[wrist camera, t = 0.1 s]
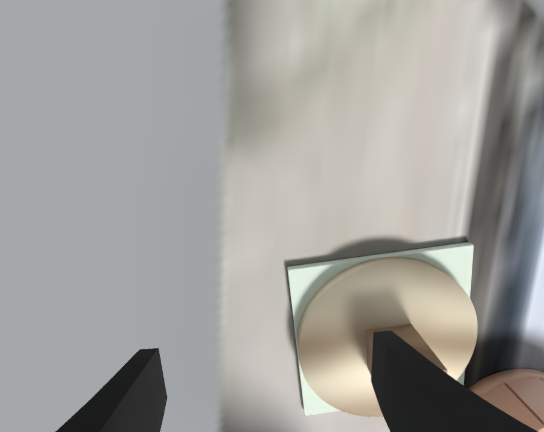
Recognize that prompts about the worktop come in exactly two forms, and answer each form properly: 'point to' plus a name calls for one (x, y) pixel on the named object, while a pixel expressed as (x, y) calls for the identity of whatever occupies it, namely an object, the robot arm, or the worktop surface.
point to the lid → (381, 327)
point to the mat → (315, 275)
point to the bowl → (516, 394)
